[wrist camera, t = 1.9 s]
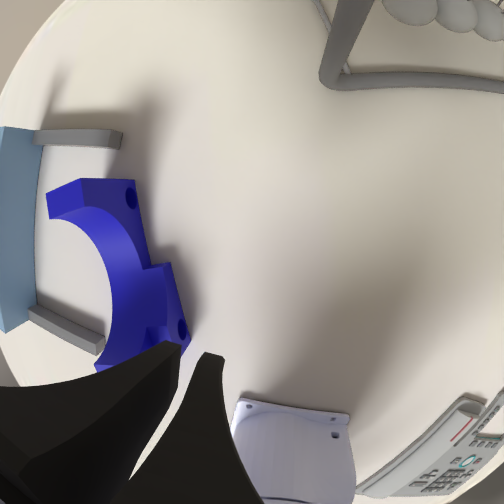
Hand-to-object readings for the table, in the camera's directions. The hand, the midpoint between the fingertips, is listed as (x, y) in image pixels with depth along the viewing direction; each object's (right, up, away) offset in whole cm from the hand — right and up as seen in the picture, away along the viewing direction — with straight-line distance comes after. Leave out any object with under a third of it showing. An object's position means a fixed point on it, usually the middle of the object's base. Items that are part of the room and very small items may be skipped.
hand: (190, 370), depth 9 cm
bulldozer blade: (-13, +5, +10) cm, 17 cm away
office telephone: (+29, -21, +12) cm, 37 cm away
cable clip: (-5, +3, +10) cm, 12 cm away
